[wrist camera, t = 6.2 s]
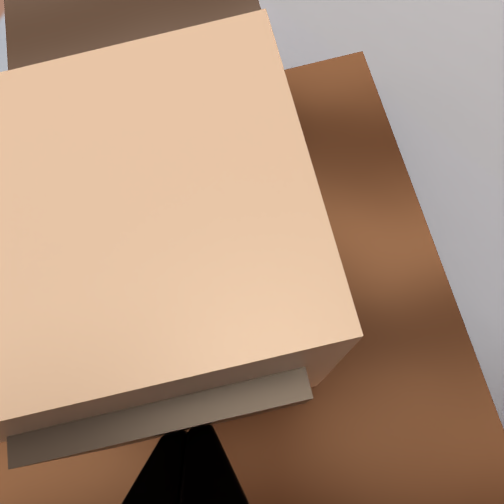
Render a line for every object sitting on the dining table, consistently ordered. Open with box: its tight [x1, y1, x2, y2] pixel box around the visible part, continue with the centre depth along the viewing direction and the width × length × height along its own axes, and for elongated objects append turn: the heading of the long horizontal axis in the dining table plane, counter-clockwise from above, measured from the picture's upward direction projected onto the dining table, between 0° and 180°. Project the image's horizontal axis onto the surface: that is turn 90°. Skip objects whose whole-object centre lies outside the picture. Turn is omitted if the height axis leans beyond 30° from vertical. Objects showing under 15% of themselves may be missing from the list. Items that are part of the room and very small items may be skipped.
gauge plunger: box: [0, 9, 363, 470], centre depth 9 cm, size 4×8×9 cm, turn 102°
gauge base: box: [0, 0, 504, 504], centre depth 12 cm, size 18×16×8 cm
